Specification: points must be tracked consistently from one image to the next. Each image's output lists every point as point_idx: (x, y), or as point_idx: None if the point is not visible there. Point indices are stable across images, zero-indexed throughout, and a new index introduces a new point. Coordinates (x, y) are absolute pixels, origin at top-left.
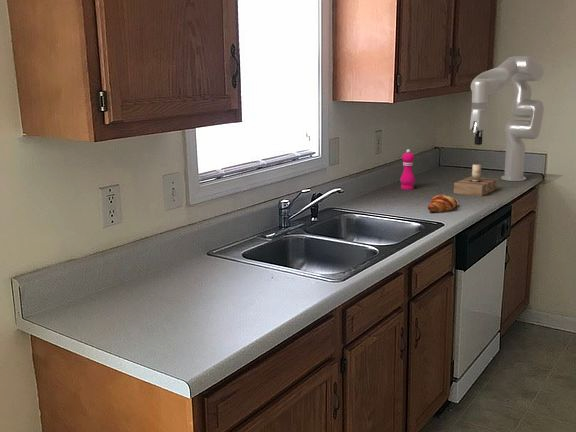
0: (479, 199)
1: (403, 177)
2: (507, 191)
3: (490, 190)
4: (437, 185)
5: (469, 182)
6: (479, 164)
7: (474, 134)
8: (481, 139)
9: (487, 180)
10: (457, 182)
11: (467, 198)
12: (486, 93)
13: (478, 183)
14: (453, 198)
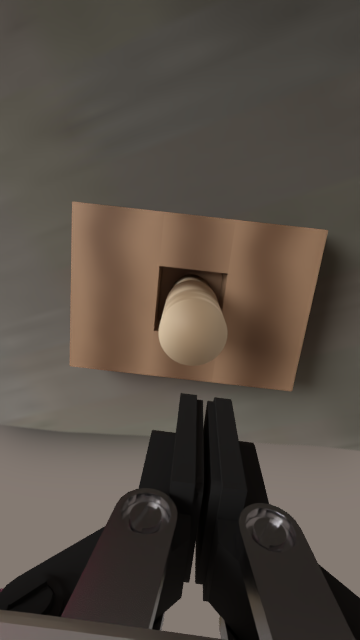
0: (19, 354)
1: None
2: (243, 417)
3: None
4: (267, 27)
5: (131, 281)
6: (222, 345)
7: (103, 528)
8: (197, 538)
9: (235, 354)
10: (97, 216)
11: (9, 303)
12: None
13: (125, 333)
14: None
